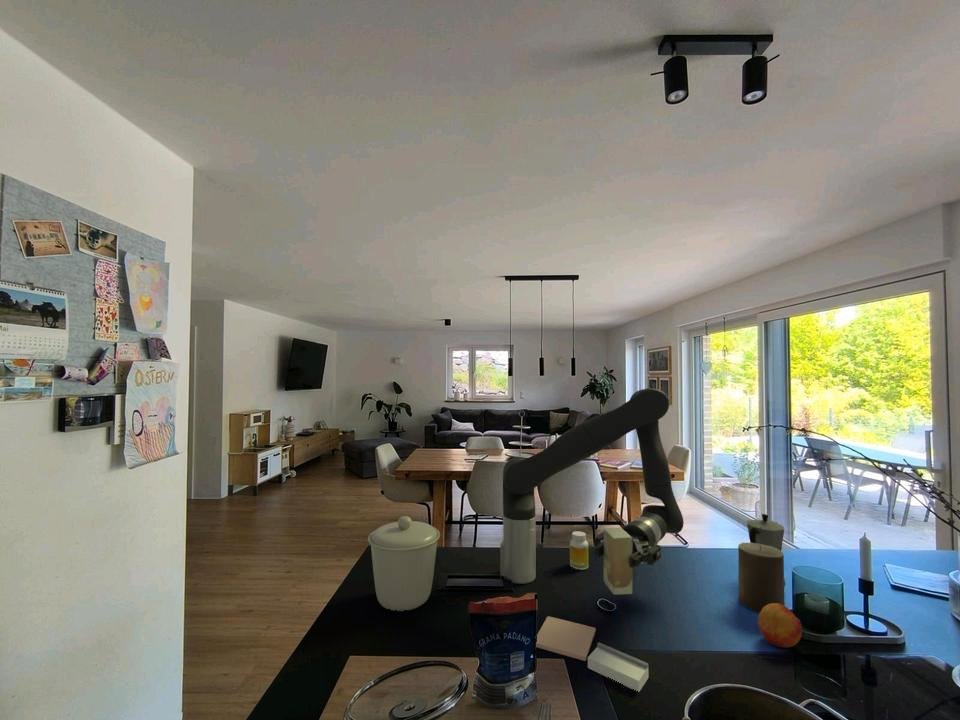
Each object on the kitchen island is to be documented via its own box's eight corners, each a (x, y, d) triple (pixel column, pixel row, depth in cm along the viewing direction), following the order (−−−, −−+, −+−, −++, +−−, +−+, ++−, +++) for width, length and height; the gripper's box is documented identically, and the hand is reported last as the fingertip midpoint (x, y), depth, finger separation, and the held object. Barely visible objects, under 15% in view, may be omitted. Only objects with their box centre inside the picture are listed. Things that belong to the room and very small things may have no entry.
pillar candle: (770, 619, 101) (769, 554, 101) (730, 600, 109) (729, 540, 110) (793, 609, 105) (792, 547, 106) (752, 591, 114) (752, 534, 114)
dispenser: (587, 667, 84) (587, 654, 84) (598, 655, 88) (598, 642, 88) (638, 692, 77) (638, 677, 78) (648, 677, 81) (648, 663, 81)
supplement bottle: (588, 571, 126) (588, 537, 126) (570, 569, 127) (569, 536, 127) (588, 563, 131) (587, 531, 131) (570, 561, 132) (569, 529, 132)
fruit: (812, 658, 87) (811, 618, 87) (768, 653, 88) (767, 614, 89) (791, 635, 95) (790, 598, 95) (751, 631, 96) (750, 594, 96)
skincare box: (602, 581, 98) (602, 527, 98) (621, 580, 98) (620, 526, 98) (614, 595, 91) (613, 537, 92) (633, 594, 91) (632, 536, 92)
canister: (385, 580, 120) (386, 504, 120) (448, 587, 116) (448, 508, 117) (353, 615, 102) (355, 526, 103) (426, 625, 98) (426, 532, 99)
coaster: (533, 646, 91) (533, 642, 91) (547, 619, 101) (547, 616, 101) (585, 661, 86) (585, 657, 86) (595, 631, 96) (595, 627, 96)
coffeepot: (758, 566, 129) (757, 506, 129) (795, 578, 121) (793, 514, 122) (733, 580, 120) (732, 515, 121) (771, 594, 112) (770, 525, 113)
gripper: (612, 514, 110) (583, 532, 98) (671, 527, 101) (646, 549, 89) (612, 543, 110) (583, 565, 98) (671, 559, 101) (647, 586, 88)
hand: (613, 557), depth 93 cm, fingers closed on skincare box, 7 cm apart
